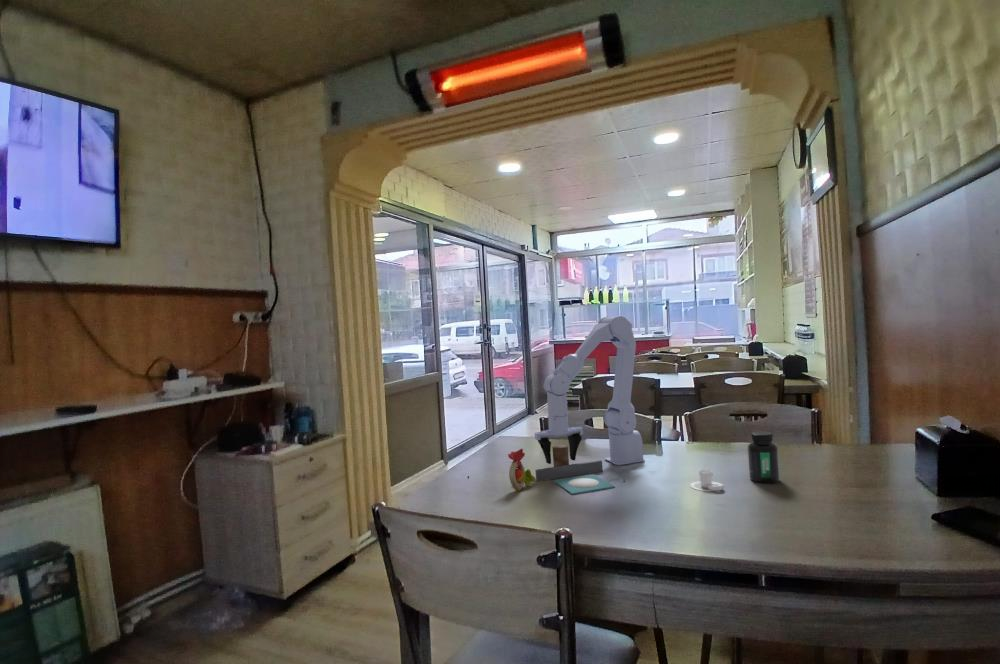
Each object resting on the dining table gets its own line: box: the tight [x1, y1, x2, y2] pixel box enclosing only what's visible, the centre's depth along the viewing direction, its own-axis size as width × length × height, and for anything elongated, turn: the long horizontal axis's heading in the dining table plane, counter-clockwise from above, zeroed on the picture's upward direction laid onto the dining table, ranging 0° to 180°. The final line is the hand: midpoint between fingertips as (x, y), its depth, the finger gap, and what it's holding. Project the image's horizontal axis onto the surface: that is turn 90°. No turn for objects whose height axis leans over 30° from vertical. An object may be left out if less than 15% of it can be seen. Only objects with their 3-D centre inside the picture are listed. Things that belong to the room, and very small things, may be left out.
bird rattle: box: [507, 448, 536, 493], centre depth 138 cm, size 6×11×9 cm
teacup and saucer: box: [689, 469, 725, 492], centre depth 130 cm, size 9×8×4 cm
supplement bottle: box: [747, 430, 780, 485], centre depth 132 cm, size 7×7×12 cm
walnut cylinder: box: [551, 444, 570, 467], centre depth 152 cm, size 4×4×7 cm
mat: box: [553, 473, 616, 495], centre depth 138 cm, size 12×12×1 cm
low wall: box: [534, 459, 603, 482], centre depth 147 cm, size 20×1×3 cm, turn 106°
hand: (560, 461), depth 152 cm, fingers open, 7 cm apart
